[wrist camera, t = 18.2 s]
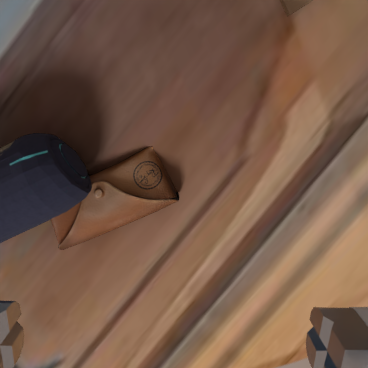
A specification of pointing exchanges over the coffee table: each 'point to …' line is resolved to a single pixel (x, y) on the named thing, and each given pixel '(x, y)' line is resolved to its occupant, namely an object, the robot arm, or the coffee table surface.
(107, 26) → the coffee table surface
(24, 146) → the portable speaker
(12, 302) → the robot arm
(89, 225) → the sunglasses case
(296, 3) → the well
